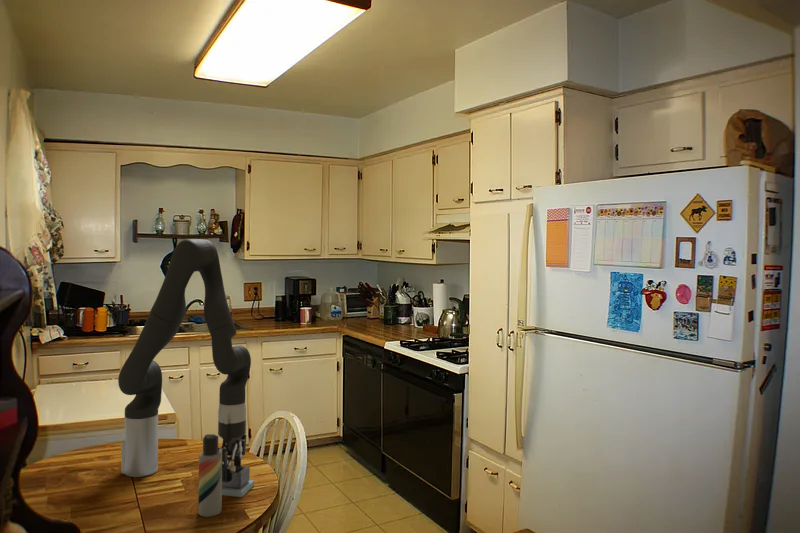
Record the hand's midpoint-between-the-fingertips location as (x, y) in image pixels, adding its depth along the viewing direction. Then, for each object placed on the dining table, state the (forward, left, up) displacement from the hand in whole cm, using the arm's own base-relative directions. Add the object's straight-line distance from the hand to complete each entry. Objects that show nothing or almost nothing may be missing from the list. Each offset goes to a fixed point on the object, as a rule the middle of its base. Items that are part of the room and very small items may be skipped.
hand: (231, 477), depth 166 cm
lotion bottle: (+1, -14, -4) cm, 15 cm away
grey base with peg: (0, 0, -4) cm, 4 cm away
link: (0, 0, -2) cm, 2 cm away
